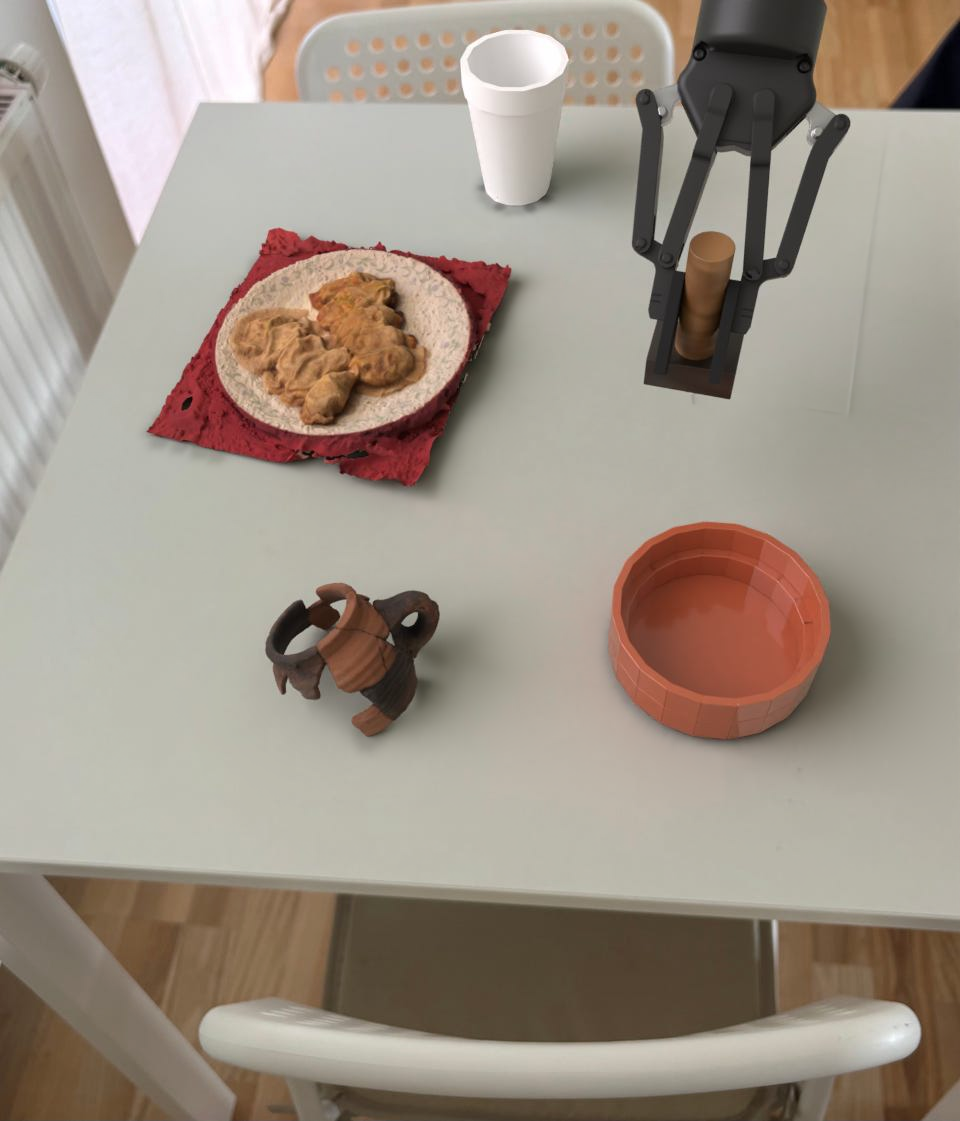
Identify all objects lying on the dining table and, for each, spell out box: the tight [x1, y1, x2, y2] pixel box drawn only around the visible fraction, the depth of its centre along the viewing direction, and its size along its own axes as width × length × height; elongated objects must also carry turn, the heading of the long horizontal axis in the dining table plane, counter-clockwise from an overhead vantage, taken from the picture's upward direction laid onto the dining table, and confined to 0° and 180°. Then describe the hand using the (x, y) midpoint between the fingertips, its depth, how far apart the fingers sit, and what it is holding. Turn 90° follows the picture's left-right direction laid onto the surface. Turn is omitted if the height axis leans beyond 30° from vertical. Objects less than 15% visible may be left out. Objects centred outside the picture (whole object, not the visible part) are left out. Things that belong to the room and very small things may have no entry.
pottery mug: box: [264, 582, 441, 737], centre depth 76 cm, size 12×10×8 cm
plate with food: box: [145, 227, 512, 487], centre depth 94 cm, size 24×26×4 cm
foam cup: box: [459, 29, 570, 207], centre depth 102 cm, size 10×9×13 cm
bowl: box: [607, 521, 832, 740], centre depth 75 cm, size 14×14×6 cm
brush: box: [643, 230, 745, 400], centre depth 72 cm, size 6×4×11 cm, turn 74°
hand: (687, 377), depth 72 cm, fingers closed on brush, 3 cm apart
